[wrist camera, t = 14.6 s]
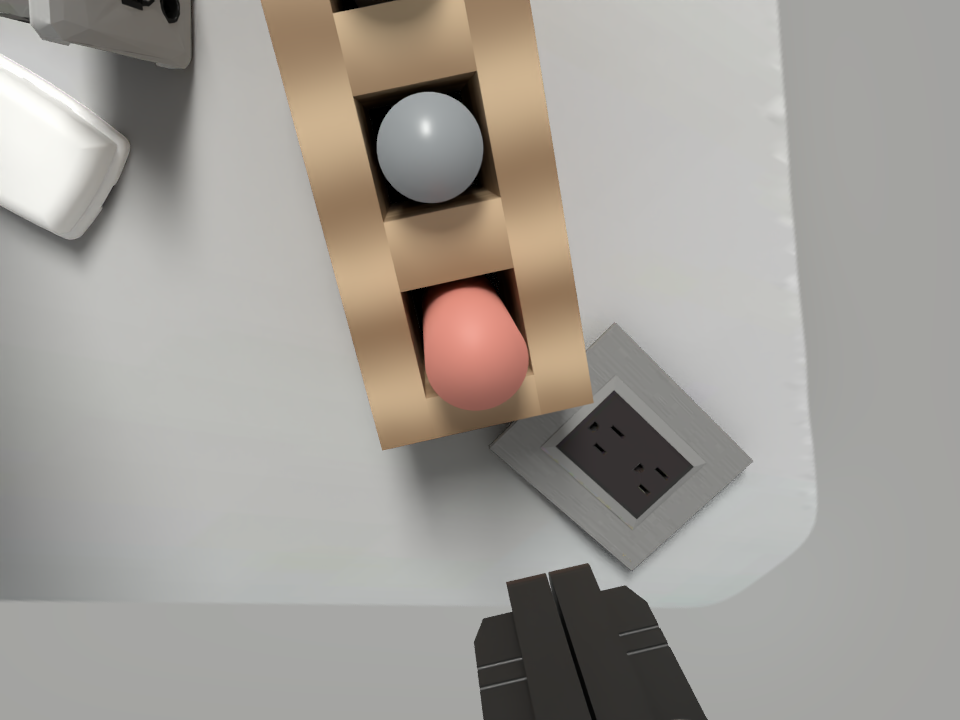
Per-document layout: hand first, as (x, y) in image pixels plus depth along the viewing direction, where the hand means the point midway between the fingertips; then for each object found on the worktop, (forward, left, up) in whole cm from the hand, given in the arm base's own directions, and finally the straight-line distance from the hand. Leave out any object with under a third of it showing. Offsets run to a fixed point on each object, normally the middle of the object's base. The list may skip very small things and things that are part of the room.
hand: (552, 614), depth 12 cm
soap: (-12, -20, -30) cm, 38 cm away
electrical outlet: (+12, +8, -30) cm, 33 cm away
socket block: (-8, 0, -29) cm, 30 cm away
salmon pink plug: (0, 0, -25) cm, 25 cm away
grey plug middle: (-8, 0, -27) cm, 28 cm away
